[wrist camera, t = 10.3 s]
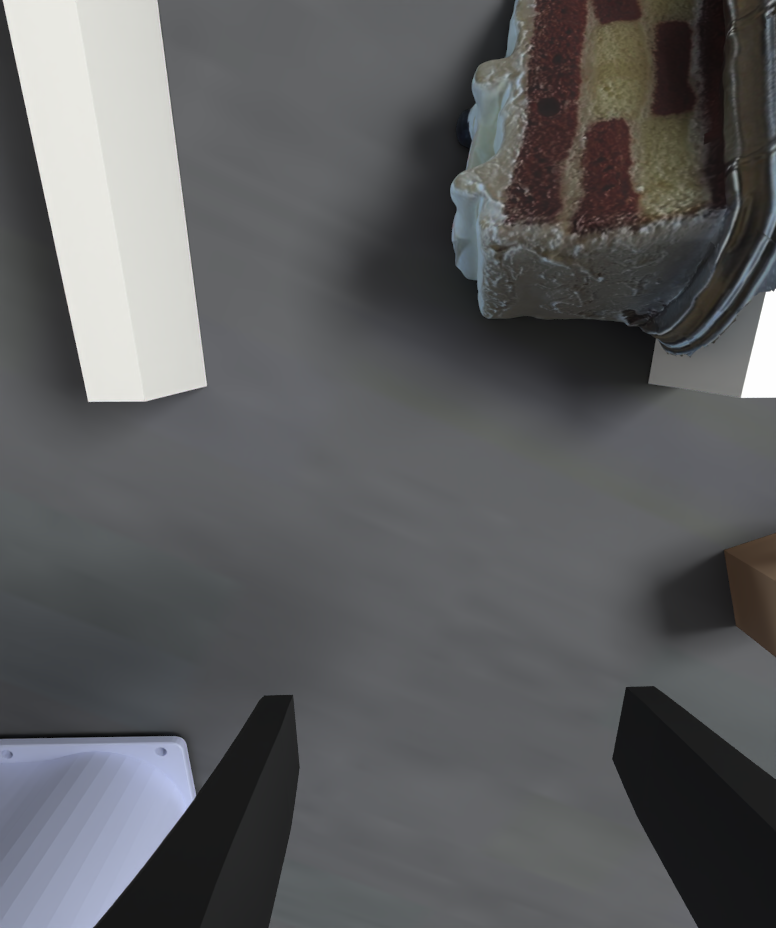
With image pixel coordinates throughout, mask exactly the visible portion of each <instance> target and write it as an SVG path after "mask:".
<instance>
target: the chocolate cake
mask: <svg viewBox="0 0 776 928" xmlns="http://www.w3.org/2000/svg"><path fill="white" fill-rule="evenodd" d="M472 93H473V95H474V98H475V101H476V103H475V105H474V106H473V107H472V108H470V109H467V110H465V111H463V112H462V113H461V115H460V117H459V119H458V122H457V126H456V133H457V138H458V141H459V143H460V144H461V145H463V146H465V147H467V148H470V152H469V156H468V160H467V166H466V170H465V171H463V172H461V173H460V174H459V175H457V177H456V178H455V179H454V181H453V182H452V184H451V188H450V193H451V198H452V200H453V202H454V204H455V205H456V207H457V211H456V214H455V218H454V221H453V226H452V242H453V247H454V250H455V254H456V259H455V264H456V266H457V267H458V268H459V269H460V270H461V271H462V273H463V275H464V276H465V277H466V278H467V279H470V280H477V288H478V302H479V308H480V311H481V313H482V315H483V316H484V317H486V318H488V319H496V318H503V319H509V318H515V317H520V316H533V317H535V318H539V319H547V320H550V319H574V318H576V319H597V320H610V321H616V322H624V323H625V324H626V325H627V326H639V327H640V328H641V330H643V331H644V332H646V333H648V334H650V335H652V336H653V337H654V338H657V339H658V341H659V342H660V344H661V346H662V348H663V349H664V350H665V351H666V352H667V354H671V355H674V356H676V355H680V356H681V357H682V356H683V354H684V355H688V356H689V357H690V358H691V356H692V354H693V353H694V352H695V351H697V350H698V349H701V347H702V346H703V347H704V348H705V347H707V346H708V344H710V343H713V344H714V343H715V341H716V340H717V339H718V338H719V335H720V336H721V335H722V334H723V333H724V332H725V331H726V330H727V329H728V328H729V326H730V325H731V324H732V323H734V322H735V321H736V317H737V316H738V315H737V314H738V313H739V312H740V310H742V309H743V308H744V307H745V306H747V305H748V304H749V303H750V302H751V300H752V298H753V296H756V295H757V294H758V293H760V292H771V290H772V291H773V292H774V291H775V289H776V0H515V4H514V12H513V15H512V17H511V20H510V26H509V35H508V43H507V52H506V56H505V58H502V59H496V60H490V61H487V62H484V63H482V64H480V65H479V66H478V68H477V70H476V72H475V74H474V78H473V81H472Z"/></svg>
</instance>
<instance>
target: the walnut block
mask: <svg viewBox="0 0 776 928" xmlns="http://www.w3.org/2000/svg"><path fill="white" fill-rule="evenodd" d="M724 554H725V560H726V566H727V572H728V578H729V584H730V591H731V597H732V603H733V609H734V615H735V621H736V626H737V627H738V628H740V629H741V630H742V631H743V632H745V633H746V634H747V635H748V636H750V637H751V638H752V639H753V640H755V641H756V642H757V643H759V644H760V645H761V646H762V647H764V648H765V649H766V650H767V651H769V652H770V653H771V654H772V655H774V656H775V657H776V533H774V534H771V535H768V536H765V537H762V538H759V539H756V540H753V541H750V542H747V543H744V544H741V545H738V546H735V547H732V548H728V549H725V550H724Z"/></svg>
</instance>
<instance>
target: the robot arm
mask: <svg viewBox="0 0 776 928" xmlns="http://www.w3.org/2000/svg"><path fill="white" fill-rule="evenodd" d="M612 759H613V762H614V764H615V766H616V769H617V771H618V774H619V776H620V778H621V781H622V783H623V786H624V788H625V790H626V793H627V795H628V797H629V799H630V801H631V804H632V806H633V808H634V810H635V813H636V815H637V817H638V819H639V821H640V823H641V825H642V826H643V828H644V830H645V832H646V834H647V836H648V837H649V839H650V841H651V843H652V845H653V847H654V848H655V850H656V852H657V854H658V856H659V858H660V859H661V861H662V863H663V865H664V867H665V869H666V870H667V872H668V874H669V876H670V878H671V879H672V881H673V883H674V885H675V887H676V888H677V890H678V892H679V894H680V896H681V897H682V899H683V901H684V903H685V905H686V906H687V908H688V910H689V912H690V914H691V915H692V917H693V919H694V921H695V923H696V924H697V926H698V928H776V779H774V778H773V777H772V776H770V775H769V774H768V773H766V772H765V771H764V770H763V769H761V768H760V767H759V766H757V765H756V764H755V763H753V762H752V761H751V760H749V759H748V758H747V757H746V756H744V755H743V754H742V753H740V752H739V751H738V750H736V749H735V748H734V747H733V746H731V745H730V744H729V743H727V742H726V741H725V740H724V739H722V738H721V737H720V736H718V735H717V734H716V733H714V732H713V731H712V730H711V729H709V728H708V727H707V726H705V725H704V724H703V723H702V722H700V721H699V720H698V719H696V718H695V717H694V716H693V715H691V714H690V713H689V712H687V711H686V710H685V709H684V708H682V707H681V706H680V705H678V704H677V703H676V702H674V701H673V700H672V699H670V698H669V697H668V696H667V695H665V694H664V693H662V692H661V691H660V690H658V689H657V688H656V687H654V686H647V687H626V690H625V696H624V701H623V706H622V711H621V716H620V722H619V727H618V732H617V737H616V743H615V748H614V753H613V758H612ZM299 768H300V767H299V756H298V745H297V734H296V723H295V712H294V701H293V695H270V696H264V697H262V698H261V699H260V700H259V702H258V704H257V705H256V707H255V709H254V710H253V712H252V714H251V715H250V717H249V718H248V720H247V722H246V723H245V725H244V726H243V728H242V729H241V731H240V733H239V734H238V736H237V737H236V739H235V740H234V742H233V743H232V745H231V746H230V748H229V749H228V751H227V752H226V754H225V755H224V757H223V758H222V760H221V761H220V763H219V764H218V766H217V767H216V769H215V770H214V771H213V773H212V774H211V776H210V777H209V779H208V780H207V781H206V783H205V784H204V786H203V787H202V788H201V790H200V791H199V793H198V794H197V796H196V792H195V787H194V781H193V776H192V771H191V766H190V760H189V755H188V750H187V744H186V742H185V740H184V739H183V738H181V737H179V736H143V737H84V738H24V739H0V928H268V927H269V923H270V918H271V914H272V910H273V905H274V901H275V897H276V892H277V888H278V884H279V879H280V875H281V870H282V866H283V862H284V857H285V853H286V848H287V844H288V839H289V835H290V830H291V825H292V818H293V811H294V804H295V797H296V790H297V783H298V775H299Z"/></svg>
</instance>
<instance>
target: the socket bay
mask: <svg viewBox="0 0 776 928" xmlns="http://www.w3.org/2000/svg"><path fill="white" fill-rule="evenodd" d="M3 3H4V8H5V13H6V17H7V22H8V27H9V31H10V36H11V41H12V46H13V50H14V55H15V60H16V64H17V69H18V74H19V78H20V83H21V88H22V92H23V97H24V102H25V107H26V111H27V116H28V121H29V125H30V130H31V135H32V139H33V144H34V149H35V154H36V158H37V163H38V168H39V172H40V177H41V182H42V186H43V191H44V196H45V200H46V205H47V210H48V215H49V219H50V224H51V229H52V233H53V238H54V243H55V247H56V252H57V257H58V262H59V266H60V271H61V276H62V280H63V285H64V290H65V294H66V299H67V304H68V308H69V313H70V318H71V323H72V327H73V332H74V337H75V341H76V346H77V351H78V355H79V360H80V365H81V370H82V374H83V379H84V384H85V388H86V393H87V398H88V402H133V401H149V400H153V399H157V398H161V397H165V396H169V395H173V394H177V393H181V392H185V391H189V390H193V389H197V388H201V387H205V386H207V382H206V374H205V366H204V358H203V351H202V343H201V335H200V327H199V320H198V312H197V304H196V296H195V289H194V281H193V273H192V265H191V258H190V250H189V242H188V234H187V227H186V219H185V211H184V203H183V195H182V188H181V180H180V172H179V164H178V157H177V149H176V141H175V133H174V126H173V118H172V110H171V102H170V95H169V87H168V79H167V71H166V64H165V56H164V48H163V40H162V33H161V25H160V17H159V9H158V2H157V0H3ZM737 315H738V316H737V317H736V321H735V322H734V323H732V324H731V325H730V326H729V328H728V329H727V330H726V331H725V332H724V333H723V334H722V335H721V336H720V335H719V338H718V339H717V340H716V341H715V343H714V344H713V343H710V344H708V346H707V347H705V348H704V347H703V346H702V347H701V349H698V350H697V351H695V352H694V353H693V354H692V356H691V358H690V357H689V356H688V355H684V354H683V356H682V357H681V356H680V355H676V356H674V355H671V354H667V352H666V351H665V350H664V349H663V348H662V346H661V344H660V342H659V341H658V339H657V338H656V342H655V348H654V354H653V359H652V365H651V371H650V376H649V382H648V384H655V385H661V386H668V387H674V388H681V389H687V390H694V391H700V392H707V393H713V394H720V395H727V396H733V397H740V398H767V397H776V289H775V291H774V292H773V291H772V290H771V292H760V293H758V294H757V295H756V296H753V298H752V300H751V302H750V303H749V304H748V305H747V306H745V307H744V308H743V309H742V310H740V312H739V313H738V314H737Z"/></svg>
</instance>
